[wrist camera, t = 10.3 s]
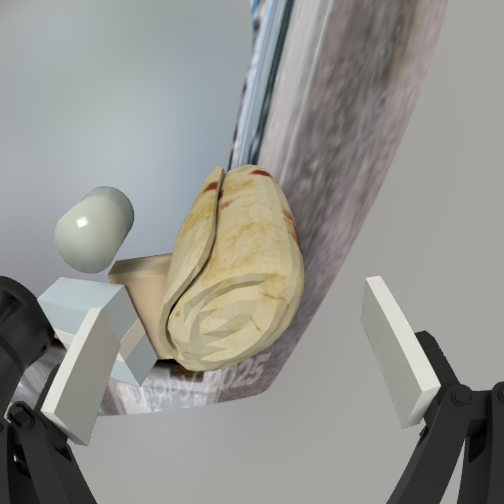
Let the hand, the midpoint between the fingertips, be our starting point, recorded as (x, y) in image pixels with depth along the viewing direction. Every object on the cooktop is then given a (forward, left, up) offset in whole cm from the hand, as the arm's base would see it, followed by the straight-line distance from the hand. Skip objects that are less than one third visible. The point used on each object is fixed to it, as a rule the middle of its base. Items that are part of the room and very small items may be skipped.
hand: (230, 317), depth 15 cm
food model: (0, 0, -19) cm, 19 cm away
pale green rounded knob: (-14, 0, -19) cm, 24 cm away
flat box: (-19, -13, -17) cm, 29 cm away
